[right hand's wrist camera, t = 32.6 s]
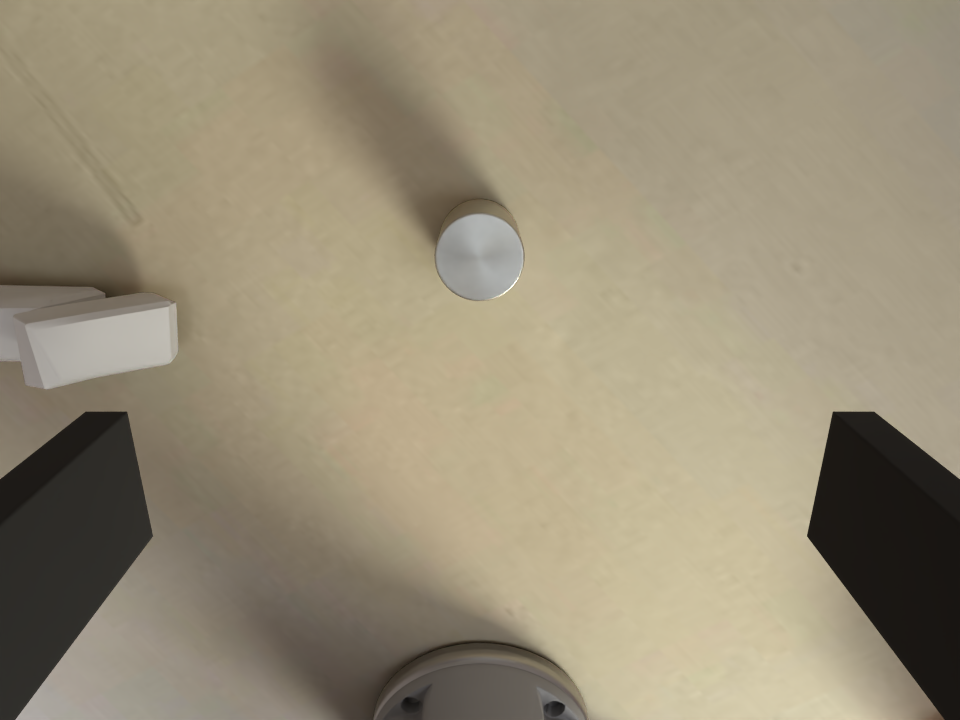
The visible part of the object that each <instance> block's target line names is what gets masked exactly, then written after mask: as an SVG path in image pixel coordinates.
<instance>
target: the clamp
mask: <svg viewBox="0 0 960 720" xmlns="http://www.w3.org/2000/svg"><path fill="white" fill-rule="evenodd" d="M177 353H178V331H177V309H176V302H174V301H172V300H169V299H167V298H165V297H162V296H160V295H157V294H155V293H146V292H141V293H135V294H129V295H122V296H116V297H110V298H106V296H105V293H104V292H102V291H100V290H97V289H96V288H94V287H69V286H22V285H0V361H17V362H21V364H22V369H23V375H24V380H25V385H27V386H32V387H37V388H43V389H52V388H56V387H60V386H64V385H68V384H72V383H76V382H81V381H85V380H89V379H93V378H97V377H102V376H108V375H113V374H119V373H124V372H130V371H135V370H141V369H146V368H152V367H157V366H163V365H168V364H169V363H170V362H171V361H172V360H173V359H174V358H175V357H176V355H177Z"/></svg>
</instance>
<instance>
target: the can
mask: <svg viewBox="0 0 960 720" xmlns="http://www.w3.org/2000/svg"><path fill="white" fill-rule="evenodd" d="M435 265H436V269H437V272H438V274H439V277H440V278H441V280H442V282H443V283H444V284H445V285H446V287H447V288H448V289H450V290H451V291H452V292H453V293H455V294H456V295H458V296H460V297H462V298H465V299H468V300H473V301H486V300H491V299H494V298H497V297H499V296H501V295H503V294H505V293H506V292H507V291H509V290H510V289H511V288H512V287H513V286H514V284H515V283H516V282H517V280H518V279H519V277H520V275H521V272H522V270H523V266H524V247H523V244H522V240H521V237H520V233H519V230H518V227H517V224H516V222H515V220H514V218H513V216H512V215H511V214H510V213H509V212H508V211H507V210H506V209H505V208H504V207H503V206H501V205H500V204H498V203H496V202H493V201H490V200H485V199H474V200H469V201H466V202H464V203H461V204H460V205H458V206H456V207H455V208H454V209H453V210H452V211H451V212H450V213H449V214H448V215H447V217H446V218H445V220H444V222H443V225H442V227H441V231H440V234H439V237H438V241H437V244H436V248H435Z"/></svg>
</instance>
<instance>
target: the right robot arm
mask: <svg viewBox="0 0 960 720" xmlns="http://www.w3.org/2000/svg"><path fill="white" fill-rule="evenodd" d="M152 537H153V534H152V529H151V525H150V520H149V515H148V510H147V505H146V501H145V496H144V491H143V486H142V481H141V477H140V472H139V467H138V462H137V457H136V453H135V448H134V443H133V438H132V433H131V429H130V424H129V419H128V414H127V412H85V413H84V414H82V415H81V416H80V417H79V418H77V419H76V420H75V421H73V422H72V423H71V424H70V425H68V426H67V427H66V428H65V429H63V430H62V431H61V432H60V433H58V434H57V435H56V436H55V437H53V438H52V439H51V440H49V441H48V442H47V443H46V444H44V445H43V446H42V447H41V448H39V449H38V450H37V451H36V452H34V453H33V454H32V455H30V456H29V457H28V458H27V459H25V460H24V461H23V462H22V463H20V464H19V465H18V466H17V467H15V468H14V469H13V470H11V471H10V472H9V473H8V474H6V475H5V476H4V477H3V478H1V479H0V720H15V719H16V718H17V717H18V715H19V714H20V713H21V711H22V710H23V709H24V707H25V706H26V705H27V703H28V702H29V701H30V699H31V698H32V697H33V695H34V694H35V693H36V691H37V690H38V689H39V687H40V686H41V685H42V683H43V682H44V681H45V679H46V678H47V677H48V675H49V674H50V673H51V671H52V670H53V669H54V667H55V666H56V665H57V663H58V662H59V661H60V659H61V658H62V657H63V655H64V654H65V653H66V651H67V650H68V649H69V647H70V646H71V645H72V643H73V642H74V641H75V639H76V638H77V637H78V635H79V634H80V633H81V631H82V630H83V629H84V627H85V626H86V625H87V623H88V622H89V621H90V619H91V618H92V617H93V615H94V614H95V613H96V611H97V610H98V609H99V607H100V606H101V605H102V603H103V602H104V601H105V599H106V598H107V597H108V595H109V594H110V593H111V591H112V590H113V589H114V587H115V586H116V585H117V583H118V582H119V581H120V579H121V578H122V577H123V575H124V574H125V573H126V571H127V570H128V569H129V567H130V566H131V565H132V563H133V562H134V561H135V559H136V558H137V557H138V555H139V554H140V553H141V551H142V550H143V549H144V547H145V546H146V545H147V543H148V542H149V541H150V539H151V538H152ZM807 537H808V538H809V539H810V541H811V542H812V543H813V545H814V546H815V547H816V549H817V550H818V551H819V553H820V554H821V555H822V557H823V558H824V559H825V561H826V562H827V563H828V565H829V566H830V567H831V569H832V570H833V571H834V573H835V574H836V575H837V577H838V578H839V579H840V581H841V582H842V583H843V585H844V586H845V587H846V589H847V590H848V591H849V593H850V594H851V595H852V597H853V598H854V599H855V601H856V602H857V603H858V605H859V606H860V607H861V609H862V610H863V611H864V613H865V614H866V615H867V617H868V618H869V619H870V621H871V622H872V623H873V625H874V626H875V627H876V629H877V630H878V631H879V633H880V634H881V635H882V637H883V638H884V639H885V641H886V642H887V643H888V645H889V646H890V647H891V649H892V650H893V651H894V653H895V654H896V655H897V657H898V658H899V659H900V661H901V662H902V663H903V665H904V666H905V667H906V669H907V670H908V671H909V673H910V674H911V675H912V677H913V678H914V679H915V681H916V682H917V683H918V685H919V686H920V687H921V689H922V690H923V691H924V693H925V694H926V695H927V697H928V698H929V699H930V701H931V702H932V703H933V705H934V706H935V707H936V709H937V710H938V711H939V713H940V714H941V715H942V717H943V718H944V719H945V720H960V479H959V478H957V477H956V476H955V475H954V474H952V473H951V472H950V471H949V470H947V469H946V468H945V467H943V466H942V465H941V464H940V463H938V462H937V461H936V460H935V459H933V458H932V457H931V456H930V455H928V454H927V453H926V452H924V451H923V450H922V449H921V448H919V447H918V446H917V445H916V444H914V443H913V442H912V441H911V440H909V439H908V438H907V437H905V436H904V435H903V434H902V433H900V432H899V431H898V430H897V429H895V428H894V427H893V426H892V425H890V424H889V423H888V422H887V421H885V420H884V419H883V418H881V417H880V416H879V415H878V414H876V413H875V412H833V414H832V419H831V424H830V428H829V433H828V438H827V443H826V448H825V453H824V457H823V462H822V467H821V472H820V477H819V481H818V486H817V491H816V496H815V501H814V505H813V510H812V515H811V520H810V525H809V529H808V534H807ZM373 720H588V715H587V710H586V706H585V703H584V700H583V697H582V696H581V694H580V692H579V690H578V688H577V687H576V685H575V684H574V683H573V682H572V680H571V679H570V678H569V677H568V676H567V675H566V674H565V673H564V672H563V671H562V670H561V669H559V668H558V667H557V666H555V665H554V664H552V663H551V662H549V661H548V660H546V659H544V658H542V657H540V656H538V655H536V654H534V653H531V652H529V651H526V650H523V649H519V648H516V647H511V646H507V645H500V644H490V643H471V644H461V645H455V646H450V647H446V648H442V649H439V650H436V651H433V652H430V653H428V654H425V655H423V656H421V657H419V658H417V659H415V660H414V661H412V662H410V663H409V664H407V665H406V666H404V667H403V668H402V669H401V670H400V671H398V672H397V673H396V674H395V675H394V676H393V677H392V678H391V679H390V681H389V682H388V683H387V684H386V686H385V687H384V689H383V690H382V692H381V694H380V696H379V698H378V700H377V703H376V707H375V711H374V716H373Z"/></svg>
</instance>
